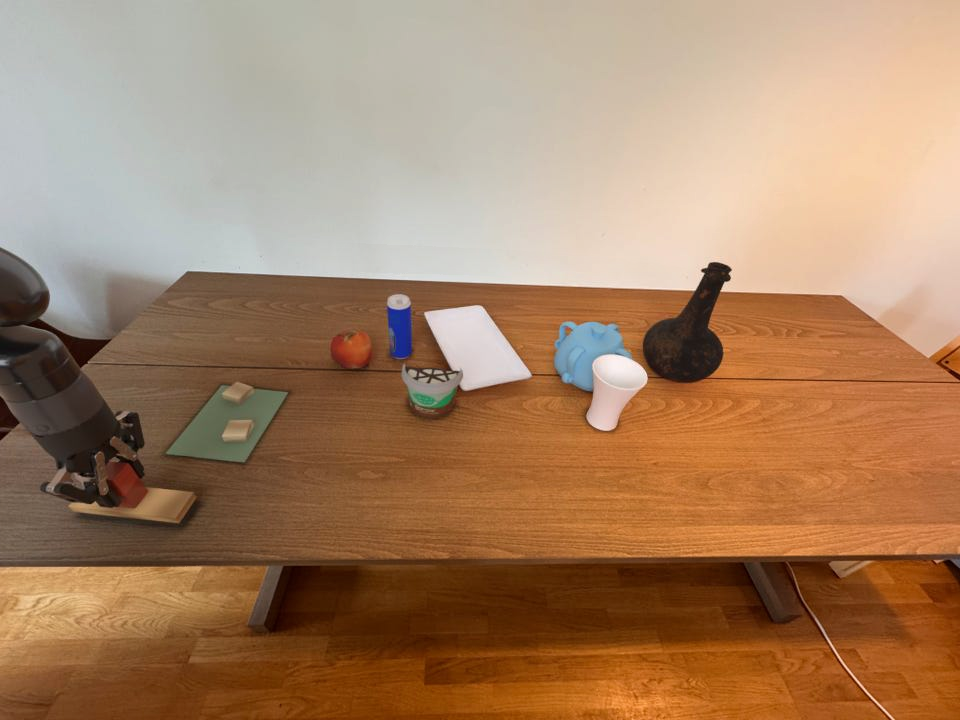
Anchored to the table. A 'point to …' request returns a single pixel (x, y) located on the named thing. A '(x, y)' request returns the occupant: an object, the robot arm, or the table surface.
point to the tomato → (351, 349)
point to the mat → (213, 420)
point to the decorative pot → (585, 351)
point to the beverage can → (399, 326)
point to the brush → (140, 500)
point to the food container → (431, 390)
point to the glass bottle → (689, 334)
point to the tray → (475, 347)
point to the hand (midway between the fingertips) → (125, 490)
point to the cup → (613, 389)
